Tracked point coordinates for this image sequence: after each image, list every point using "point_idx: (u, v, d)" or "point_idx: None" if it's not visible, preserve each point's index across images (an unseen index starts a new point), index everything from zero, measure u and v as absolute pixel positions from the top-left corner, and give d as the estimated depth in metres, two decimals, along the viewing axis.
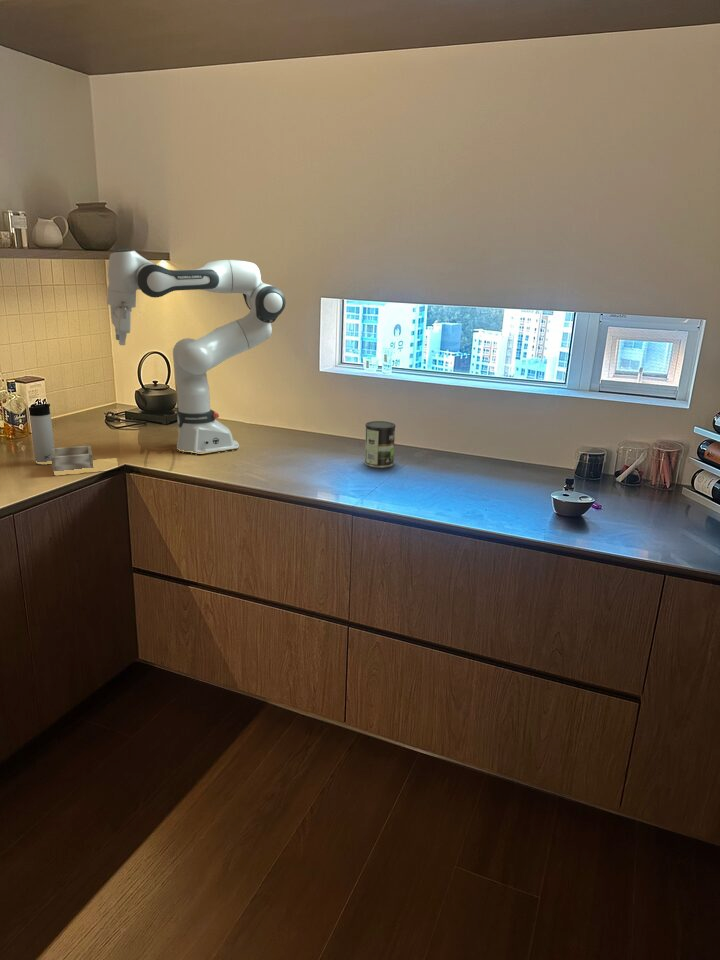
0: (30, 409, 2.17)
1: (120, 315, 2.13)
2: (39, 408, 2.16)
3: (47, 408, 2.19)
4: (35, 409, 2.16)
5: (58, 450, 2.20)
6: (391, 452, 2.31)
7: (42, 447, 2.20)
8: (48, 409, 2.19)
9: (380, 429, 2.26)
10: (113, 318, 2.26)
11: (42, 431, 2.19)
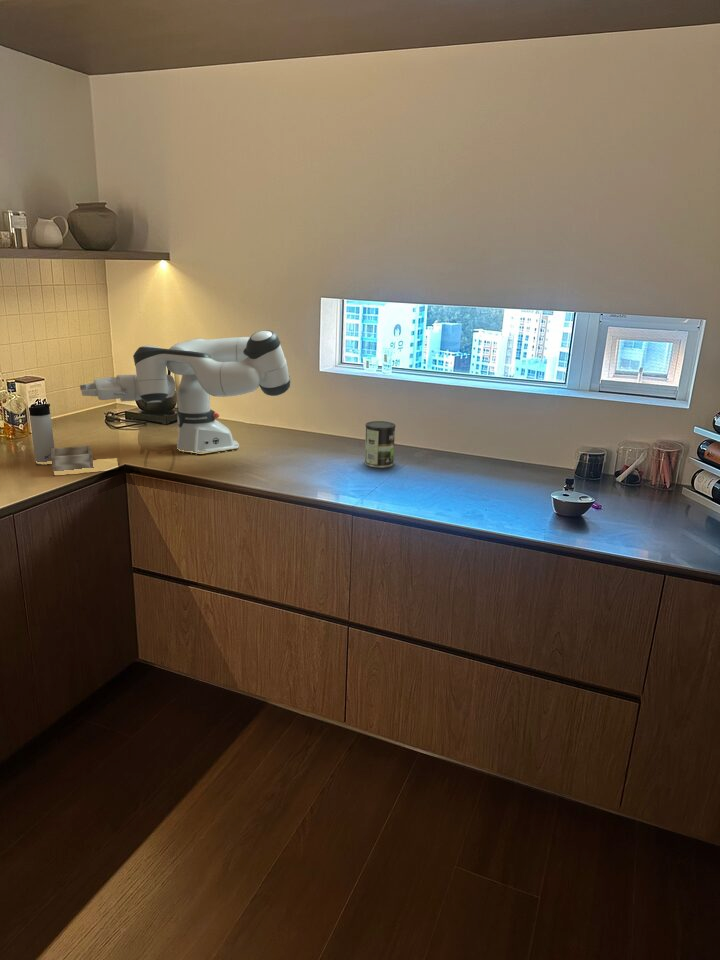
0: (30, 409, 2.17)
1: (115, 389, 2.17)
2: (39, 408, 2.16)
3: (47, 408, 2.19)
4: (35, 409, 2.16)
5: (58, 450, 2.20)
6: (391, 452, 2.31)
7: (42, 447, 2.20)
8: (48, 409, 2.19)
9: (380, 429, 2.26)
10: (101, 381, 2.29)
11: (42, 431, 2.19)
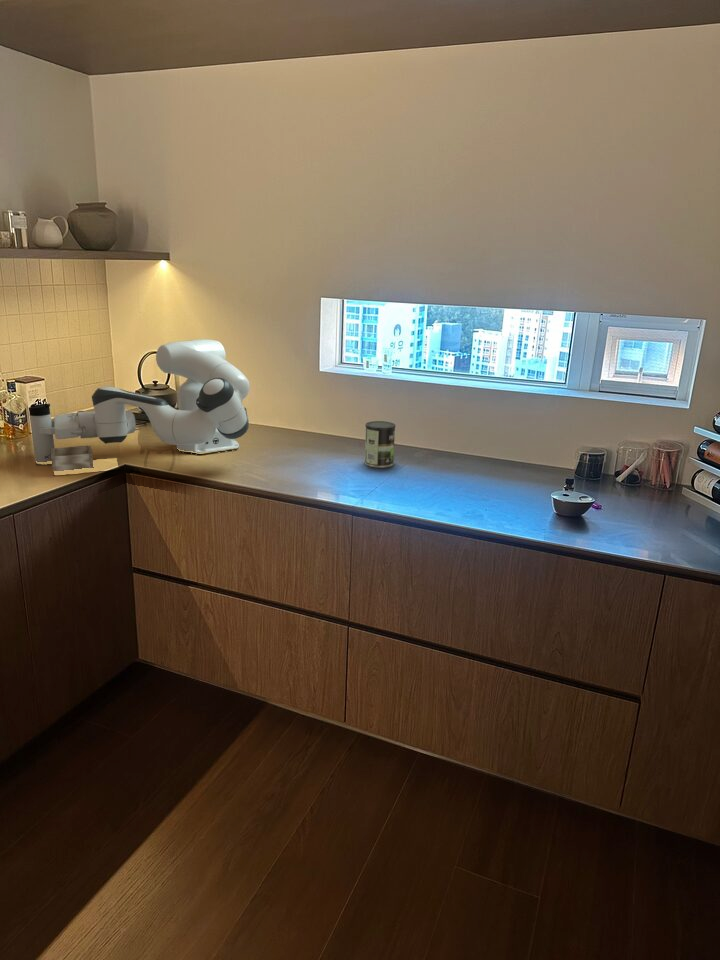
0: (30, 409, 2.17)
1: (72, 428, 2.16)
2: (39, 408, 2.16)
3: (47, 408, 2.19)
4: (35, 409, 2.16)
5: (58, 450, 2.20)
6: (391, 452, 2.31)
7: (42, 447, 2.20)
8: (48, 409, 2.19)
9: (380, 429, 2.26)
10: (61, 417, 2.27)
11: None
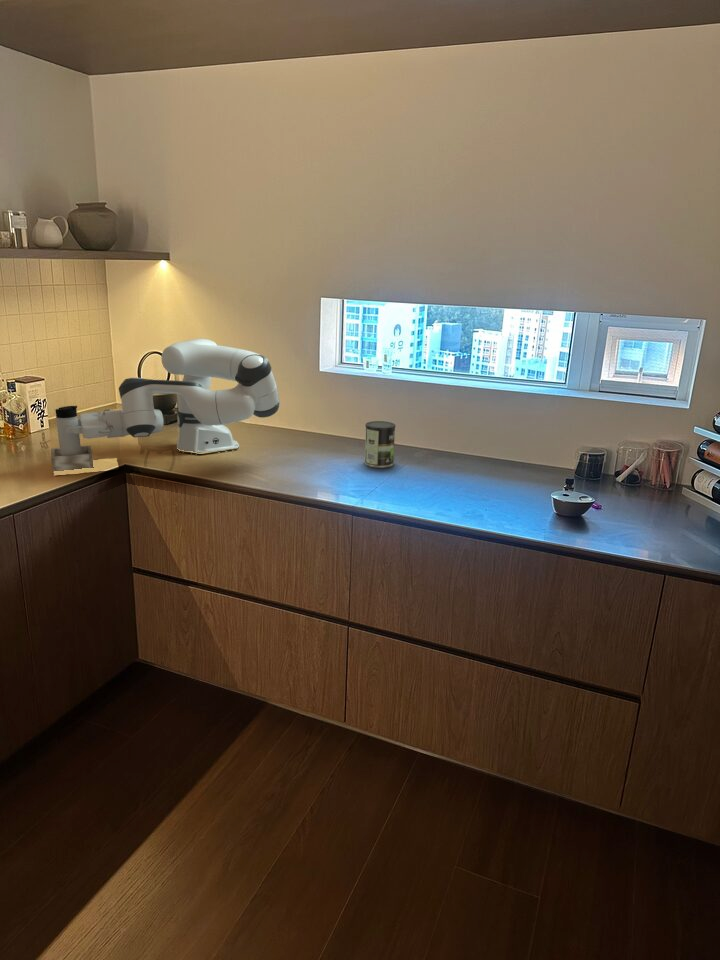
0: (57, 411, 2.11)
1: (101, 427, 2.10)
2: (66, 410, 2.10)
3: (74, 410, 2.12)
4: (62, 411, 2.10)
5: (58, 450, 2.20)
6: (391, 452, 2.31)
7: (69, 450, 2.14)
8: (75, 411, 2.13)
9: (380, 429, 2.26)
10: (87, 416, 2.21)
11: (69, 434, 2.13)
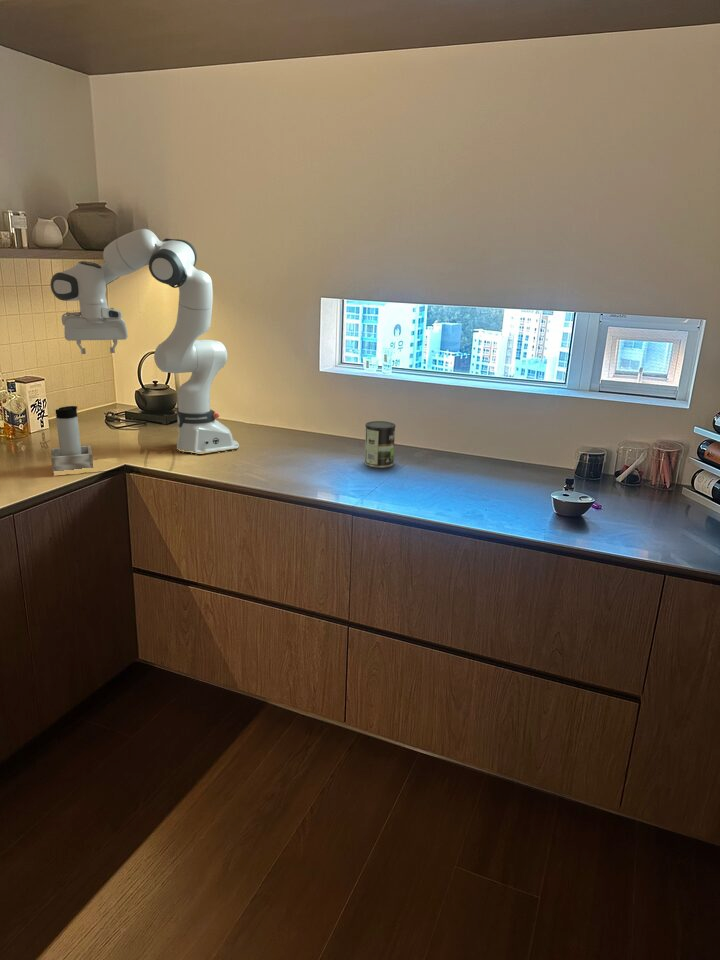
0: (57, 411, 2.10)
1: None
2: (66, 410, 2.10)
3: (74, 410, 2.12)
4: (62, 411, 2.10)
5: (58, 450, 2.20)
6: (391, 452, 2.31)
7: (69, 450, 2.14)
8: (75, 411, 2.13)
9: (380, 429, 2.26)
10: None
11: (69, 434, 2.12)
